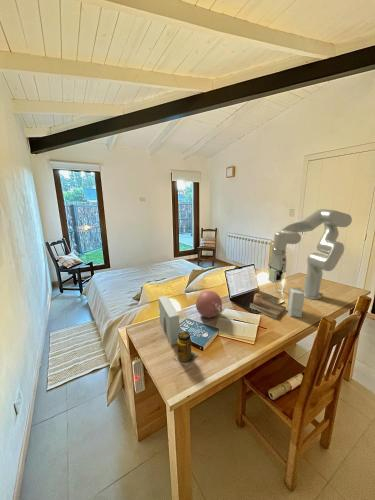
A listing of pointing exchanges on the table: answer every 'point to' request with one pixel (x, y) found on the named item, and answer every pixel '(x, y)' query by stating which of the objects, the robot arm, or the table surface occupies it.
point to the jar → (257, 299)
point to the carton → (274, 275)
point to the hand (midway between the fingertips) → (275, 278)
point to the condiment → (184, 349)
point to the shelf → (269, 308)
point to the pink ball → (209, 304)
